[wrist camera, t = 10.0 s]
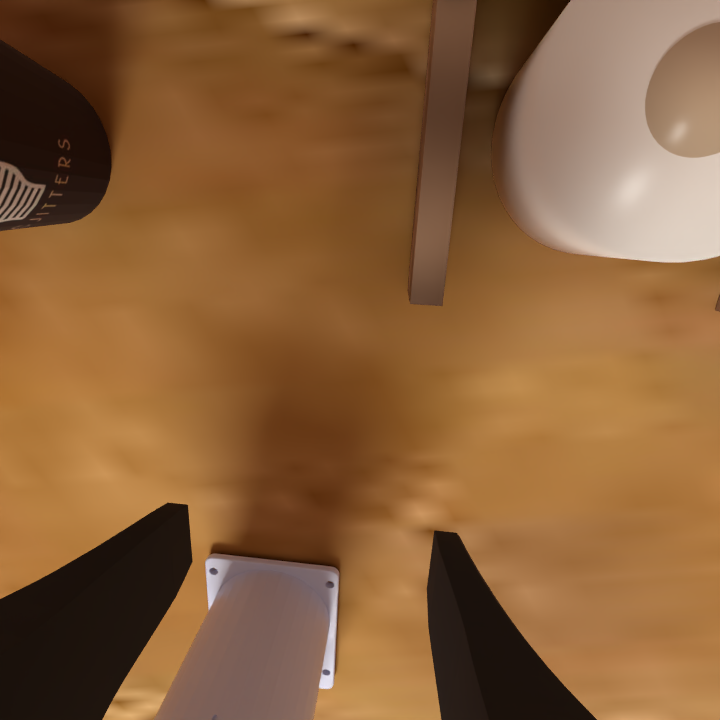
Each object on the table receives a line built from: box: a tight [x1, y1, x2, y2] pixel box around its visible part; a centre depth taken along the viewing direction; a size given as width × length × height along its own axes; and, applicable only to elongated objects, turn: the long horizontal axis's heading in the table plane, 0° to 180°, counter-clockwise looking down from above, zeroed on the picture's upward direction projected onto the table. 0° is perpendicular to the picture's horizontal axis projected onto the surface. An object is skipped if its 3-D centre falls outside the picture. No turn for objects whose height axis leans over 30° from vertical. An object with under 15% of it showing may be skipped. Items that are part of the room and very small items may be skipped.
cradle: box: [408, 0, 720, 311], centre depth 14 cm, size 13×15×5 cm
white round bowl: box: [491, 0, 720, 262], centre depth 14 cm, size 9×9×6 cm
